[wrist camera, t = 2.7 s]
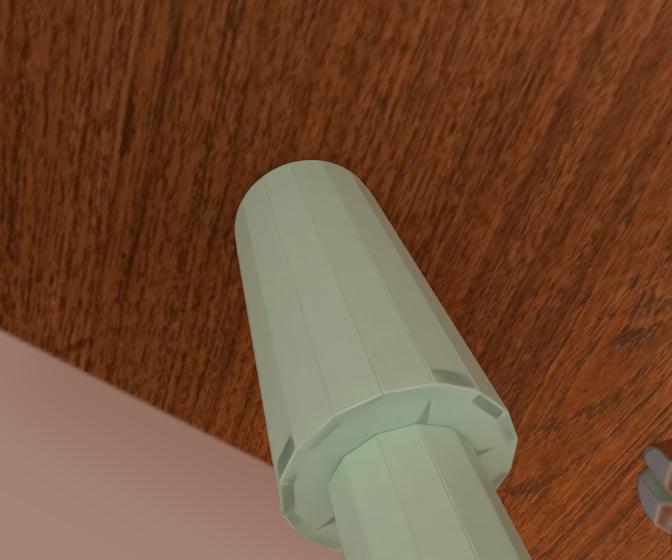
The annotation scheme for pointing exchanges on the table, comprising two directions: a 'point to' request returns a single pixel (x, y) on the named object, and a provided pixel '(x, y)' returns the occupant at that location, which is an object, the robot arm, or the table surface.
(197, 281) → the table surface
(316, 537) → the bottle
